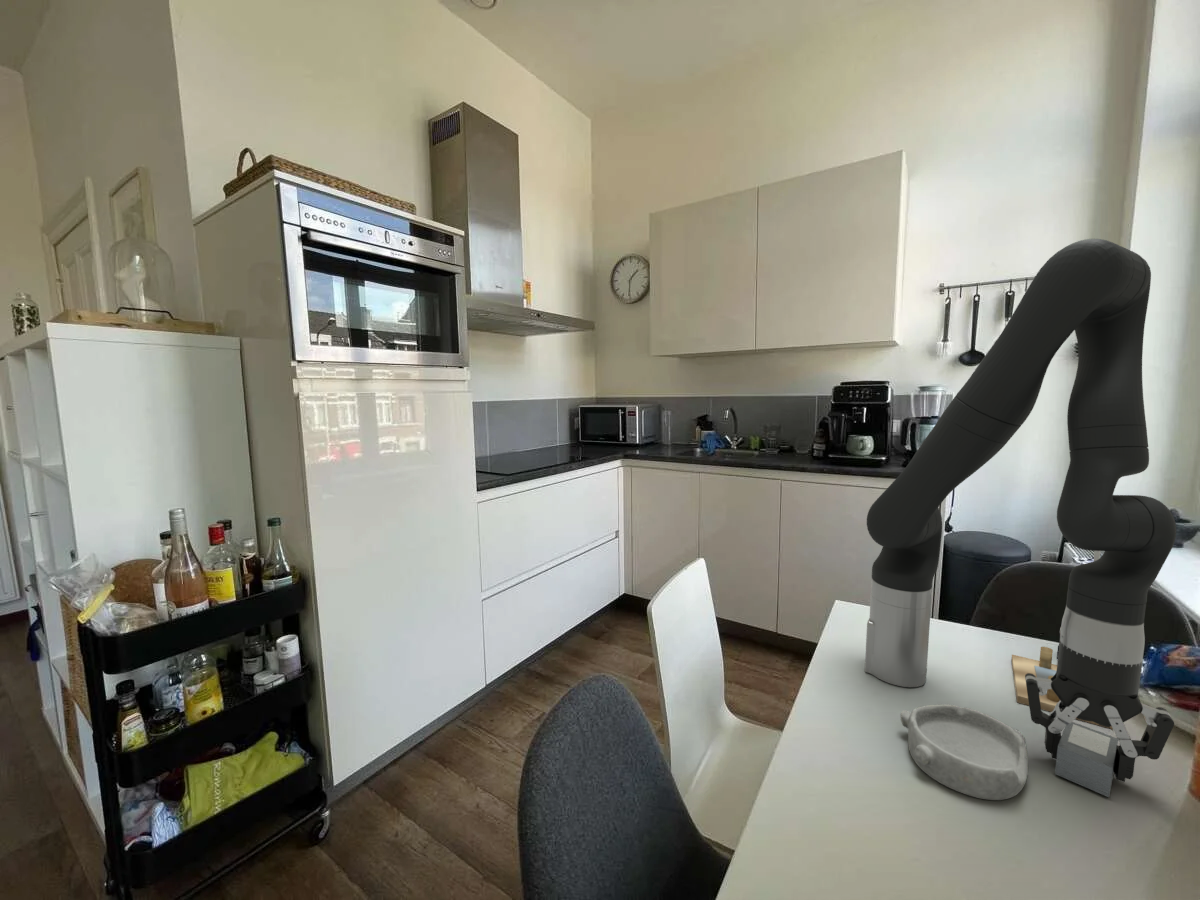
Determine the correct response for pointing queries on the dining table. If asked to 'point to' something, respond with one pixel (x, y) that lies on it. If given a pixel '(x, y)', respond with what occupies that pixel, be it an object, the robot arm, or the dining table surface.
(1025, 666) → the wooden peg board
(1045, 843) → the dining table surface
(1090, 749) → the block
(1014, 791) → the dish
